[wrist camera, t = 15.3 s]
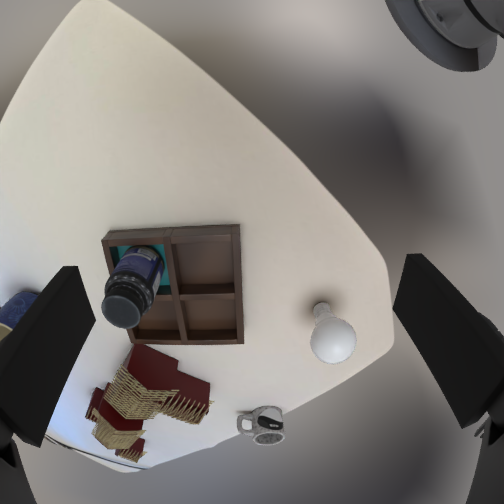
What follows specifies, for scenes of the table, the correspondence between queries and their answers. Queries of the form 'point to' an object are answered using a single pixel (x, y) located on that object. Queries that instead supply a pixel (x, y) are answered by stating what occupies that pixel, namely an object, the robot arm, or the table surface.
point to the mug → (264, 425)
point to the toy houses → (144, 400)
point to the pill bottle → (132, 286)
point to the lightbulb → (331, 336)
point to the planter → (14, 311)
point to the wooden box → (188, 284)
